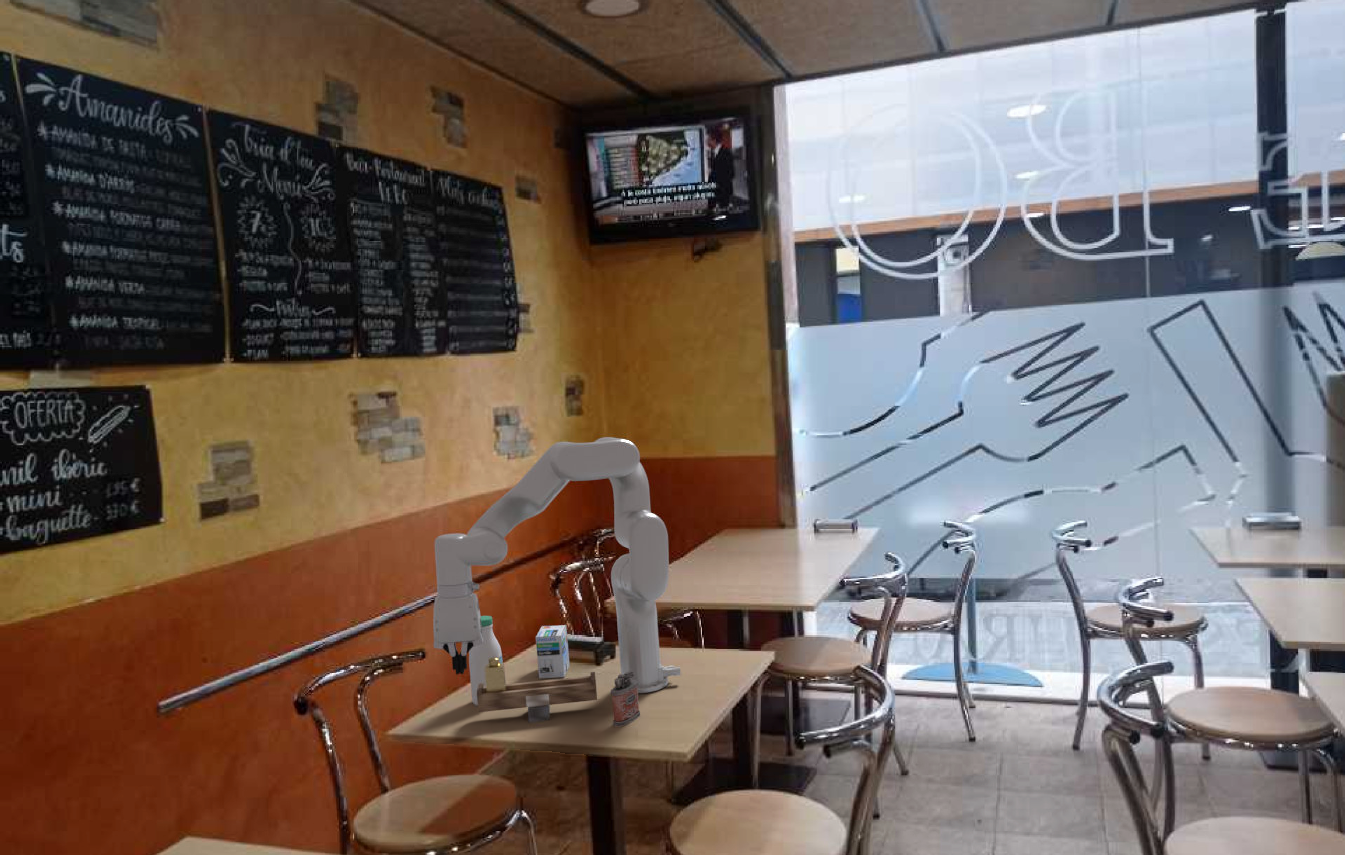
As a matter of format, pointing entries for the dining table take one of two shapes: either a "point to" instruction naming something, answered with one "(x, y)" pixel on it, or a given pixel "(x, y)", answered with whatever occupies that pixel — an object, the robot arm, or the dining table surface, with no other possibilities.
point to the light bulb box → (552, 651)
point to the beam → (538, 695)
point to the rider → (495, 676)
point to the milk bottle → (483, 656)
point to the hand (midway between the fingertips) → (460, 672)
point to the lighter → (625, 699)
